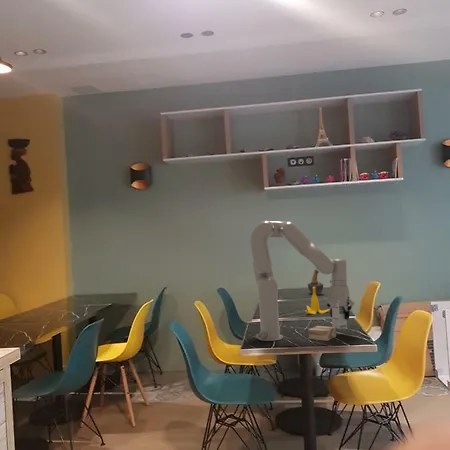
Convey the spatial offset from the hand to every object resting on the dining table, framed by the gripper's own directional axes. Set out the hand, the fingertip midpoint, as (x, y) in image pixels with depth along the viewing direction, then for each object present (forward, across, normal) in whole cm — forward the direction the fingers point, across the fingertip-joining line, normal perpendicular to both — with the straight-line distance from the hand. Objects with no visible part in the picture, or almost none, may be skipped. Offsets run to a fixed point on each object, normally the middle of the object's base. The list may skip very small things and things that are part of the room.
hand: (339, 317), depth 262 cm
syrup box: (+5, 0, 0) cm, 5 cm away
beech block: (+9, -4, -10) cm, 14 cm away
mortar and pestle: (+8, -90, +120) cm, 150 cm away
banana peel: (+9, -44, +51) cm, 68 cm away
